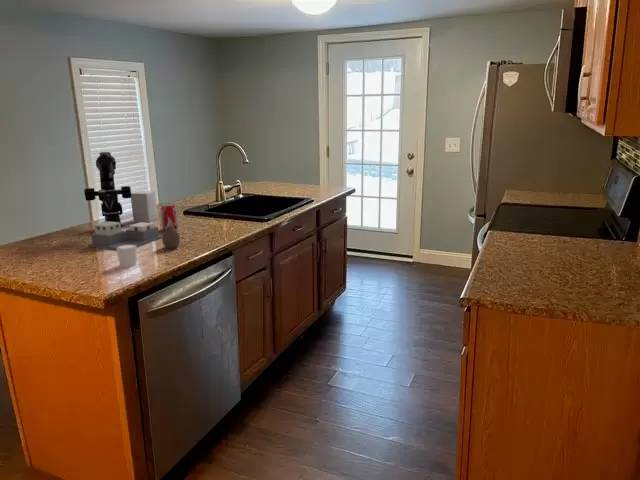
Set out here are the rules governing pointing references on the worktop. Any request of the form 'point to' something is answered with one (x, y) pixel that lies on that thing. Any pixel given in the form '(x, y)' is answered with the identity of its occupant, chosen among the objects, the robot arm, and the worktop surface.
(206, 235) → the worktop surface
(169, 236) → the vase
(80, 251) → the worktop surface
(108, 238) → the board
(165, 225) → the soda can
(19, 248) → the worktop surface
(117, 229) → the grey-green block
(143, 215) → the supplement box
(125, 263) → the shot glass
